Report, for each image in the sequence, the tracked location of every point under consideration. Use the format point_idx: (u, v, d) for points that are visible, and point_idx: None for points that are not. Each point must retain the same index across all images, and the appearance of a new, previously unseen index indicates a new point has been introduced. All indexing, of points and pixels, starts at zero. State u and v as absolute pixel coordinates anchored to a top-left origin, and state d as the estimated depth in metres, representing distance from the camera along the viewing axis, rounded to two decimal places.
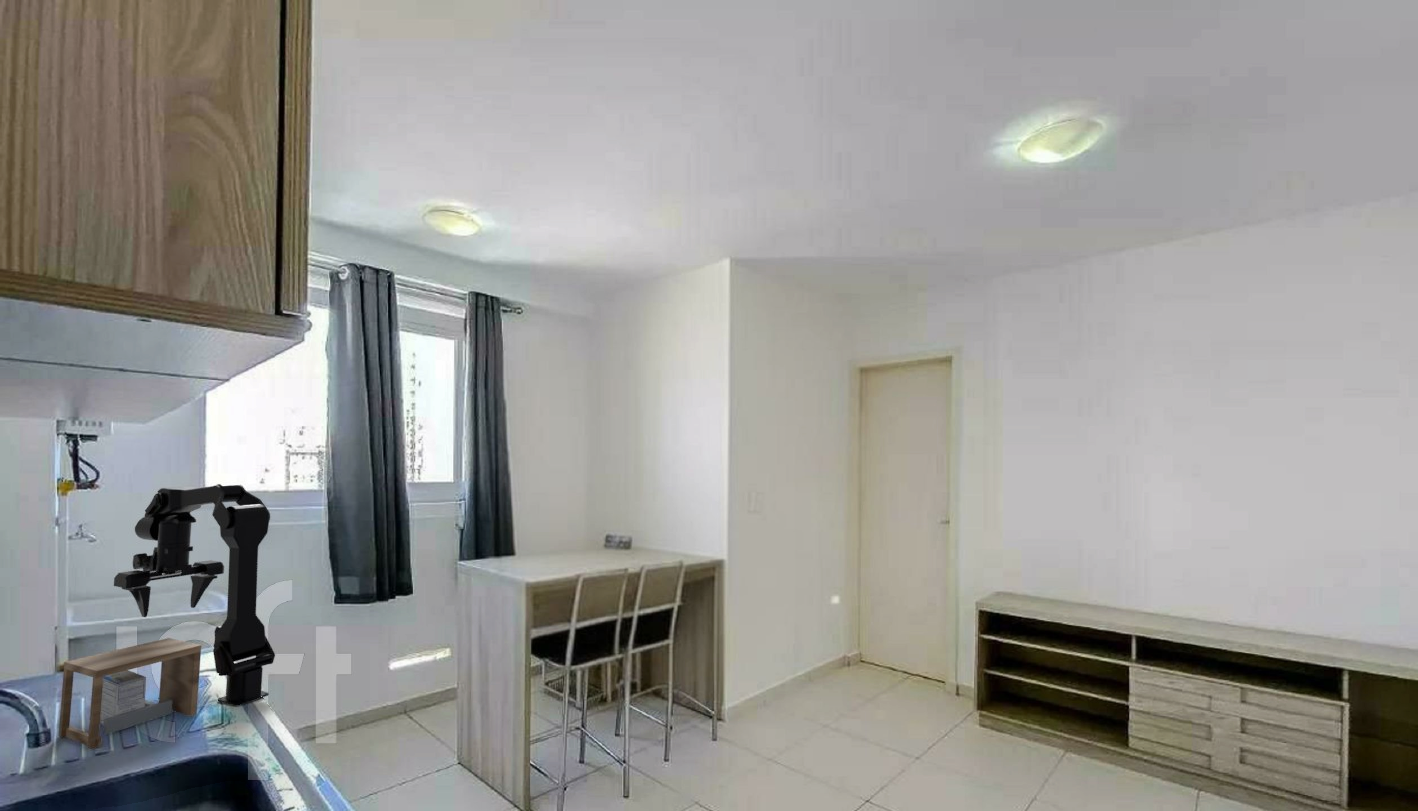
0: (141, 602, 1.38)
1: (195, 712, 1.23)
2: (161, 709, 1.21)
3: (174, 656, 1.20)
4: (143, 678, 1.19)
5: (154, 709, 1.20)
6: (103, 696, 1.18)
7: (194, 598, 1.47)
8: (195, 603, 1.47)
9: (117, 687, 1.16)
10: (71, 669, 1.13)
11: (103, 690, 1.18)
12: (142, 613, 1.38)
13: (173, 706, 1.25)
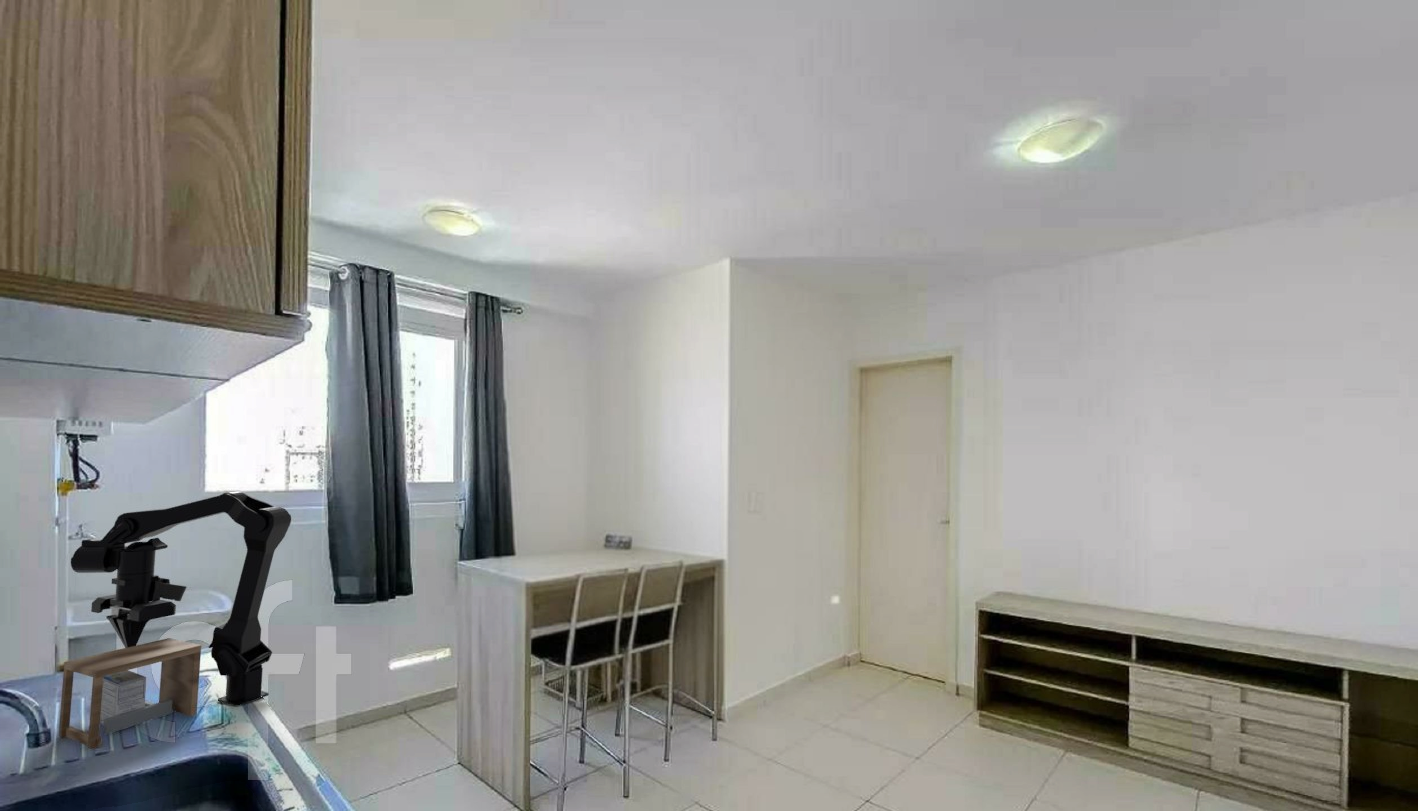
0: None
1: (195, 712, 1.23)
2: (161, 709, 1.21)
3: (174, 656, 1.20)
4: (143, 678, 1.19)
5: (154, 709, 1.20)
6: (103, 696, 1.18)
7: None
8: (126, 645, 1.29)
9: (117, 687, 1.16)
10: (71, 669, 1.13)
11: (104, 690, 1.18)
12: None
13: (173, 706, 1.25)
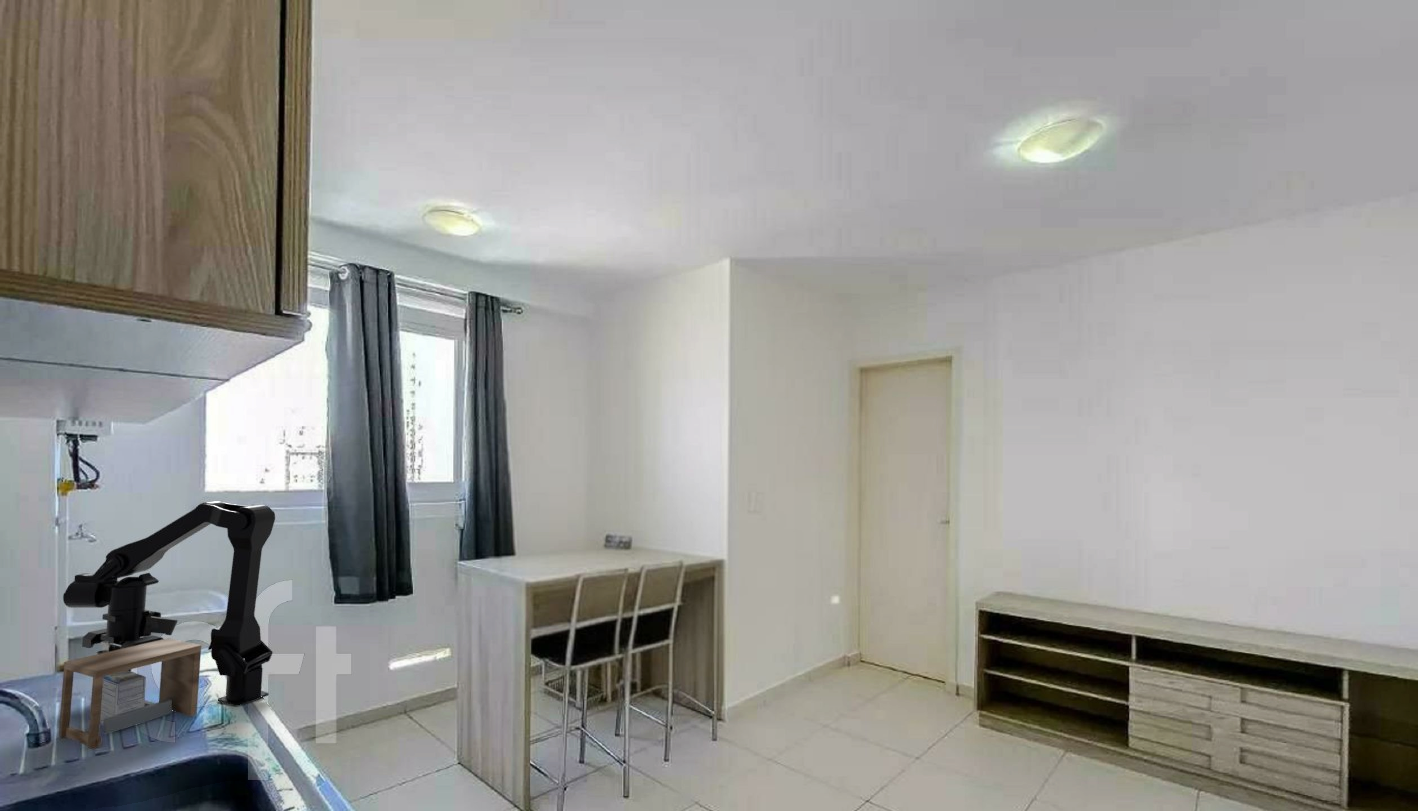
0: None
1: (195, 712, 1.23)
2: (161, 709, 1.21)
3: (174, 656, 1.20)
4: (143, 678, 1.19)
5: (154, 709, 1.20)
6: (102, 696, 1.18)
7: None
8: None
9: (117, 687, 1.16)
10: (71, 669, 1.13)
11: (103, 690, 1.18)
12: None
13: (173, 706, 1.25)
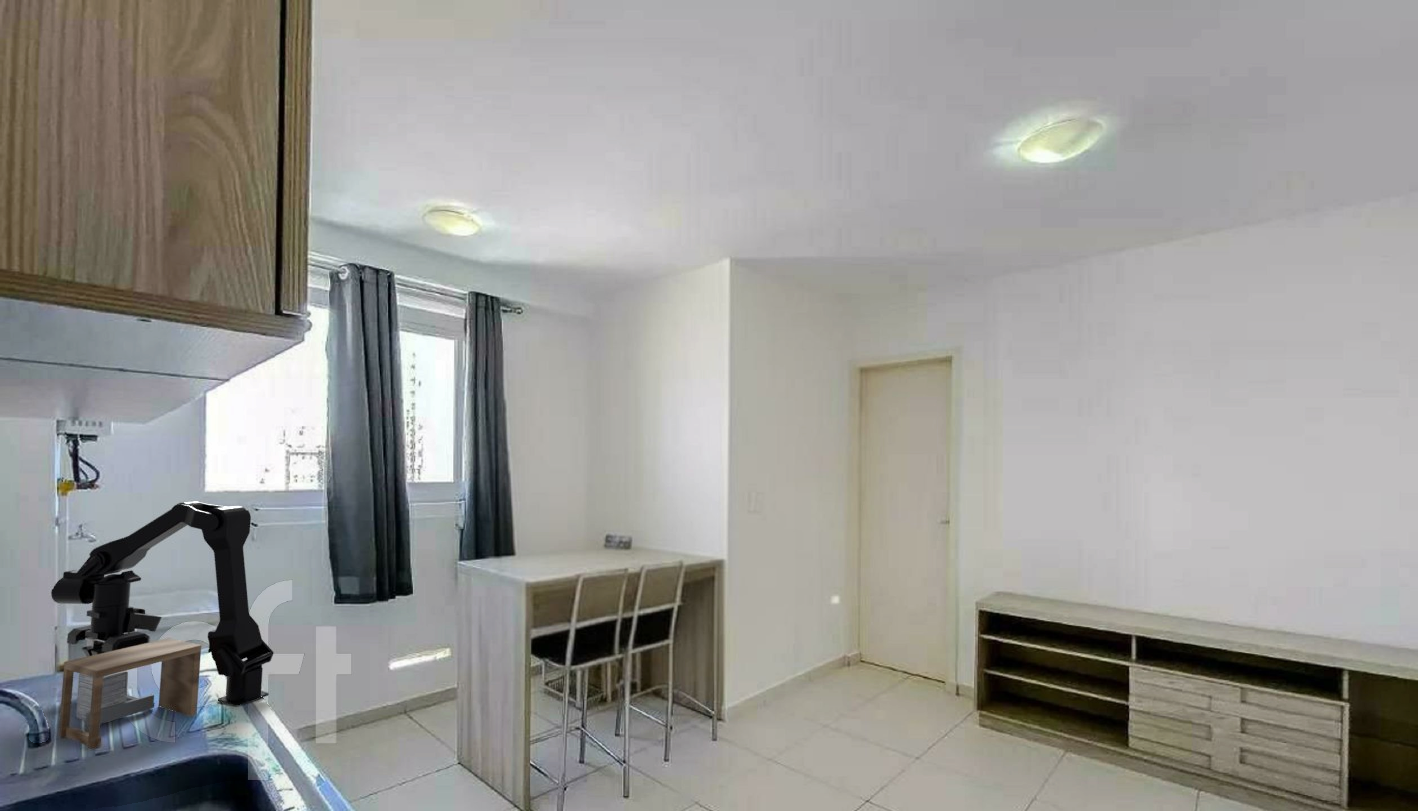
0: None
1: (195, 712, 1.23)
2: (143, 703, 1.23)
3: (174, 656, 1.20)
4: (125, 673, 1.22)
5: (136, 703, 1.22)
6: (84, 691, 1.20)
7: None
8: None
9: None
10: (71, 669, 1.13)
11: (84, 685, 1.20)
12: None
13: (173, 706, 1.25)
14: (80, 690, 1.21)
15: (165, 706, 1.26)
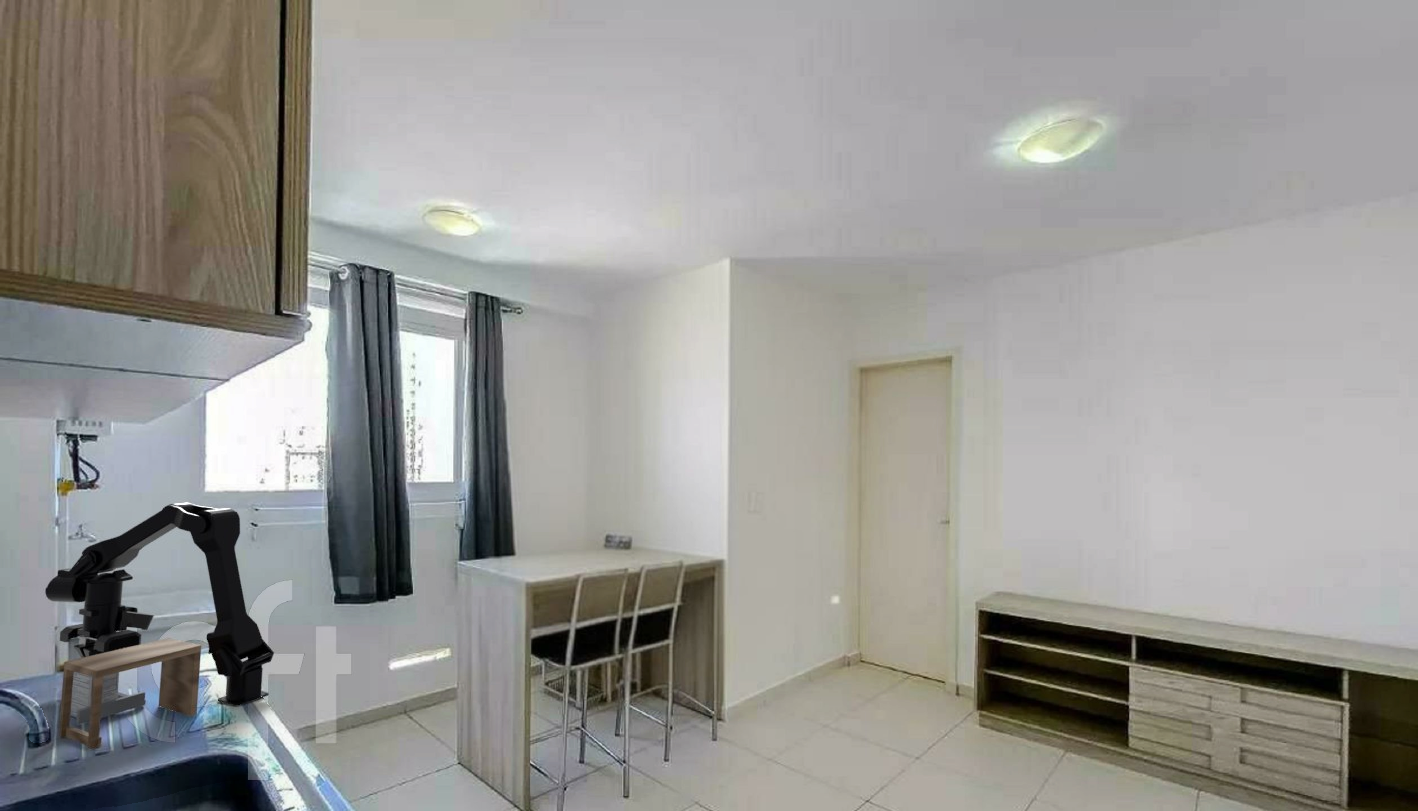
0: None
1: (195, 712, 1.23)
2: (134, 701, 1.25)
3: (174, 656, 1.20)
4: None
5: (127, 701, 1.24)
6: (75, 688, 1.21)
7: None
8: None
9: (91, 679, 1.19)
10: (71, 669, 1.13)
11: (76, 682, 1.21)
12: None
13: (173, 706, 1.25)
14: (72, 687, 1.22)
15: (165, 706, 1.26)
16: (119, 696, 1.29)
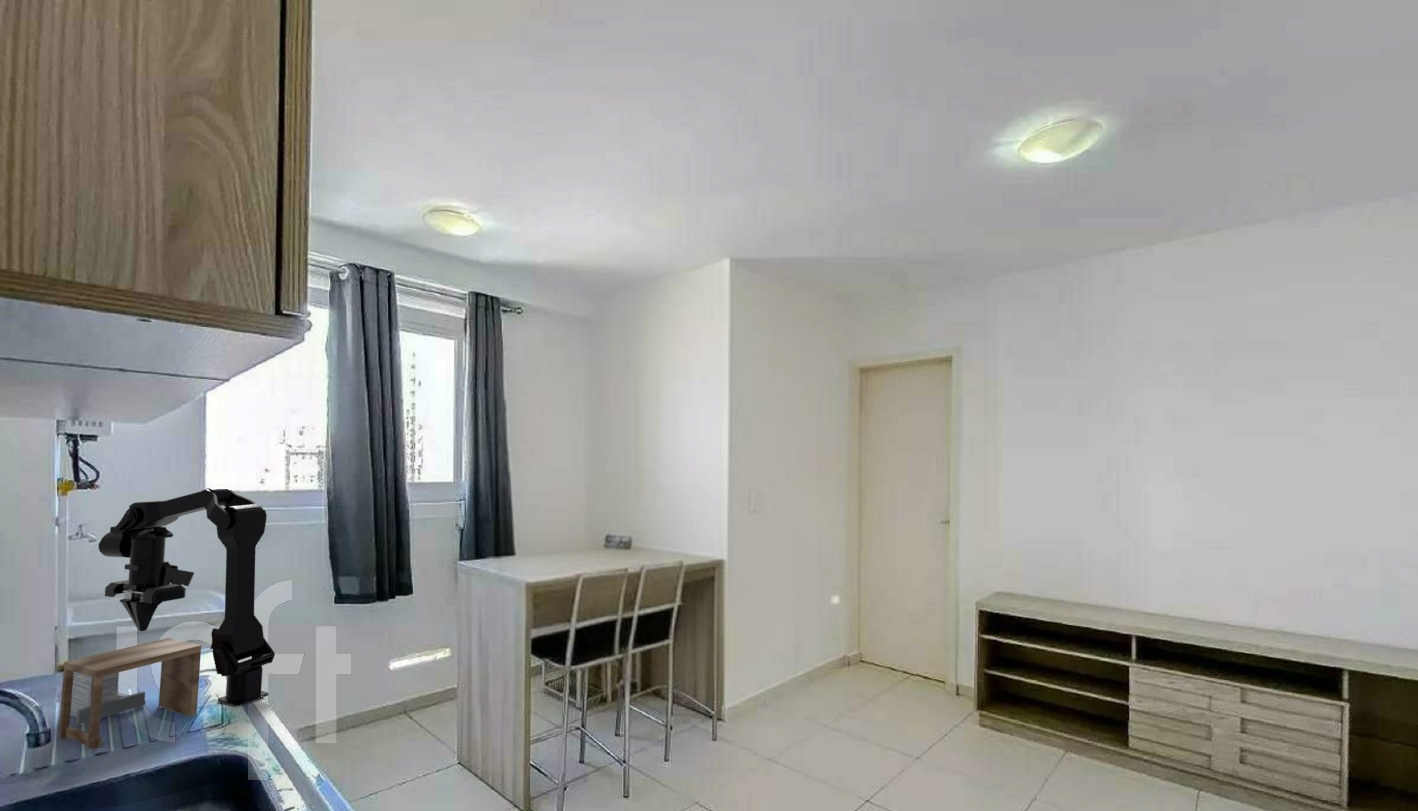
0: None
1: (195, 712, 1.23)
2: (134, 701, 1.25)
3: (174, 656, 1.20)
4: None
5: (127, 701, 1.24)
6: (75, 689, 1.21)
7: None
8: (138, 627, 1.37)
9: (91, 680, 1.19)
10: (71, 669, 1.13)
11: (76, 683, 1.21)
12: None
13: (173, 706, 1.25)
14: None
15: (165, 706, 1.26)
16: (119, 696, 1.29)
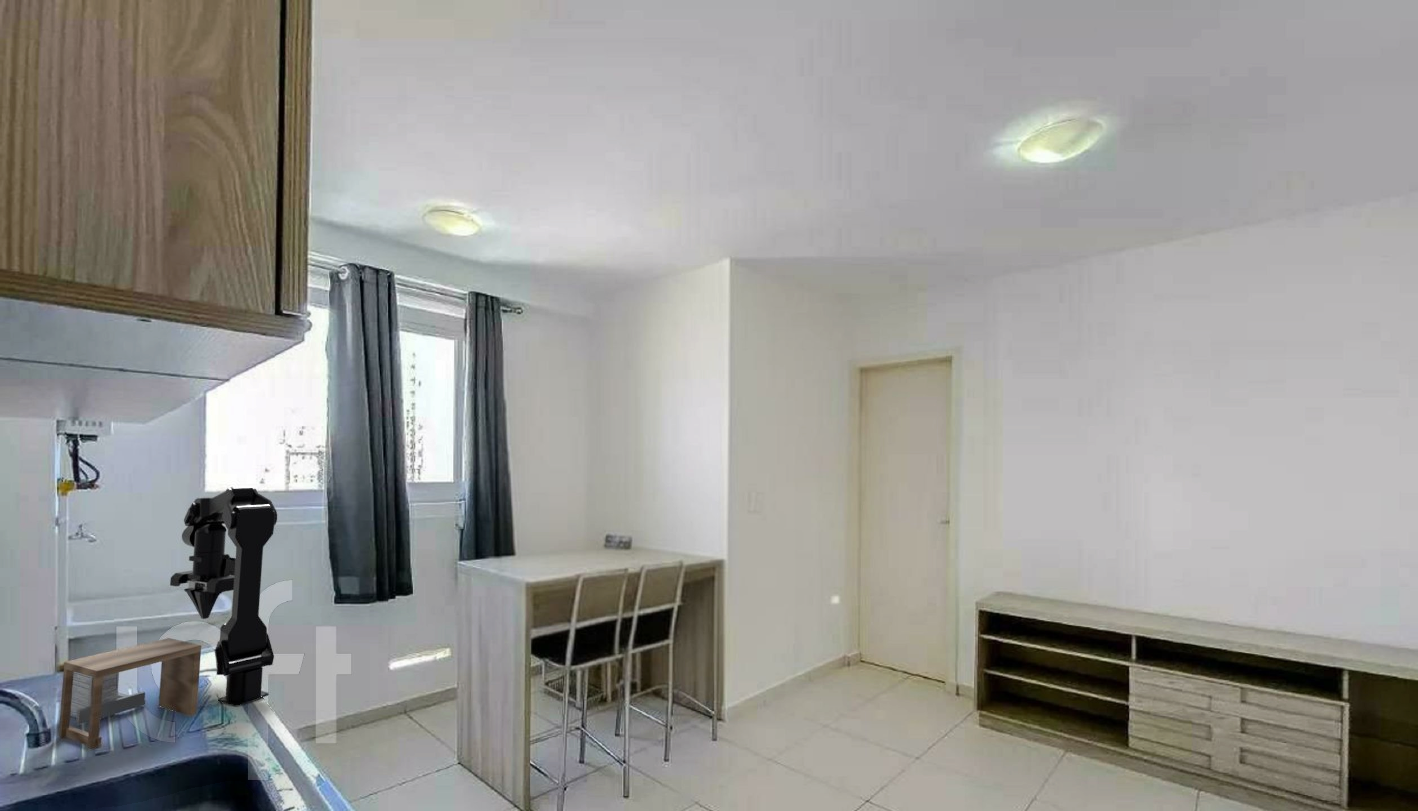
0: None
1: (195, 712, 1.23)
2: (134, 701, 1.25)
3: (174, 656, 1.20)
4: None
5: (127, 701, 1.24)
6: (75, 689, 1.21)
7: None
8: (201, 614, 1.47)
9: (91, 680, 1.19)
10: (71, 669, 1.13)
11: (76, 683, 1.21)
12: None
13: (173, 706, 1.25)
14: (72, 688, 1.22)
15: (165, 706, 1.26)
16: (119, 696, 1.29)
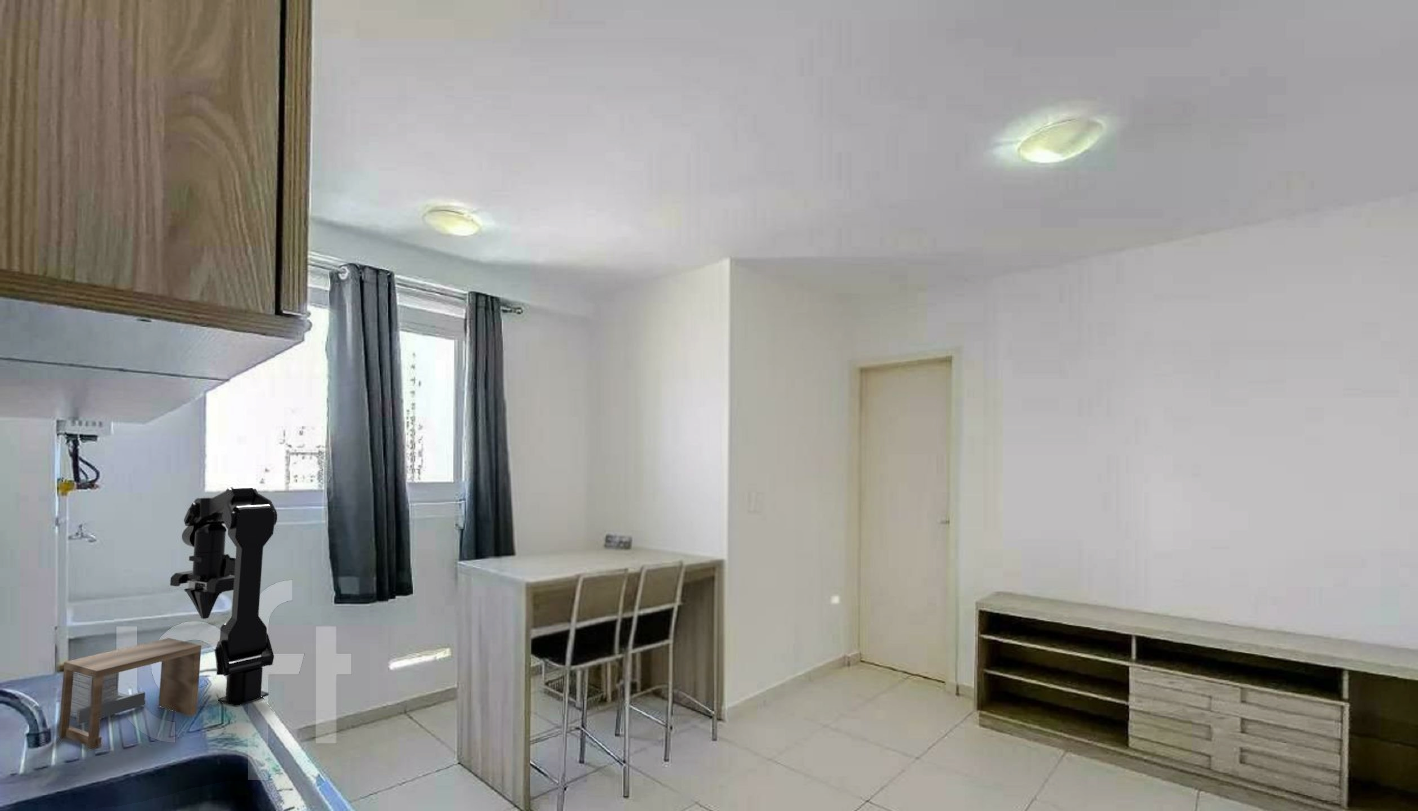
0: None
1: (195, 712, 1.23)
2: (134, 701, 1.25)
3: (174, 656, 1.20)
4: None
5: (127, 701, 1.24)
6: (75, 689, 1.21)
7: None
8: (201, 614, 1.47)
9: (91, 680, 1.19)
10: (71, 669, 1.13)
11: (76, 683, 1.21)
12: None
13: (173, 706, 1.25)
14: (72, 688, 1.22)
15: (165, 706, 1.26)
16: (119, 696, 1.29)
